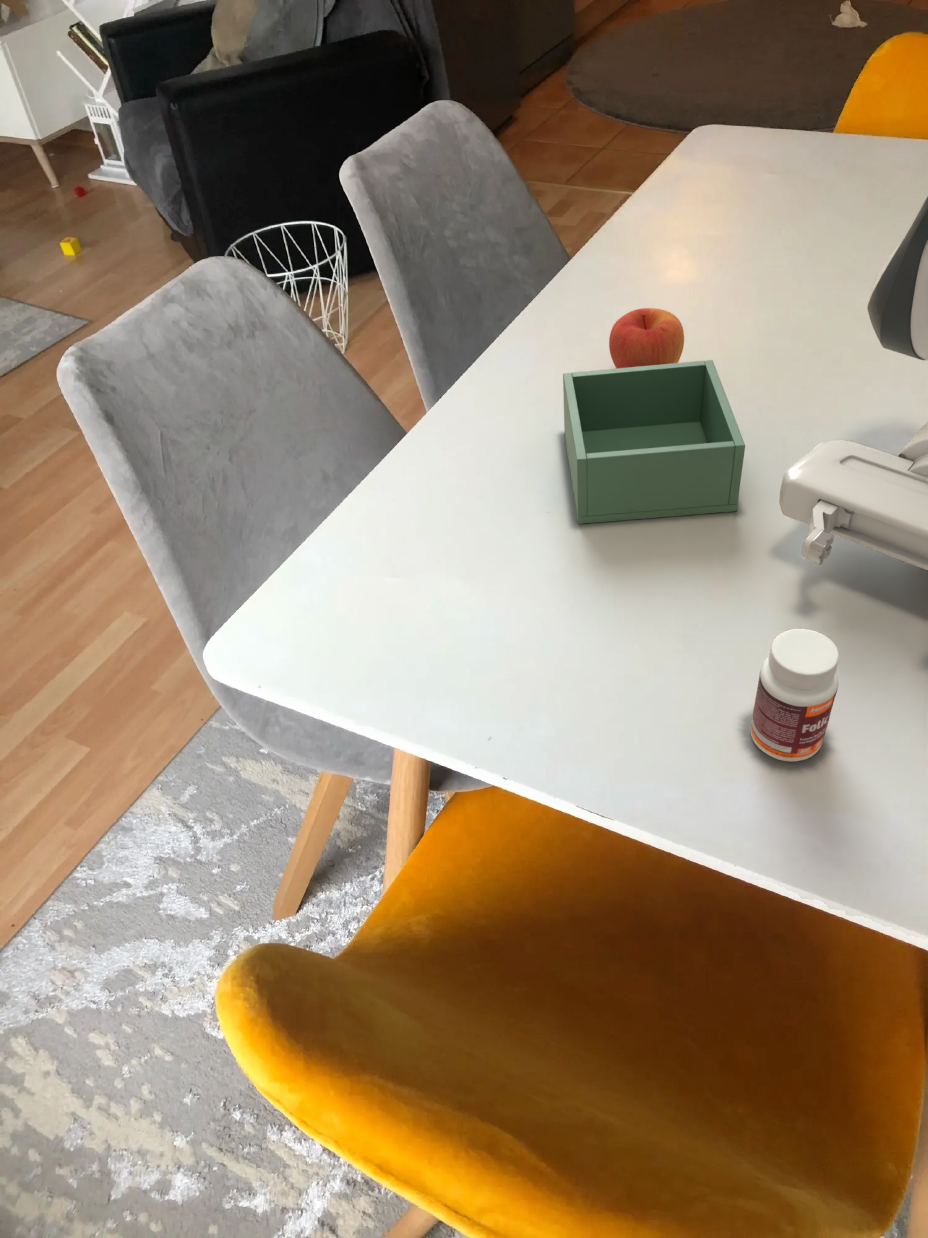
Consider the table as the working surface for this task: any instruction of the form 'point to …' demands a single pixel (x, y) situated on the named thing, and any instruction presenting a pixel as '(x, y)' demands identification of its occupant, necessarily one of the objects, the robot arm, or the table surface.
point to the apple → (646, 338)
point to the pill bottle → (795, 695)
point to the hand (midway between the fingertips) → (875, 579)
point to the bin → (651, 442)
